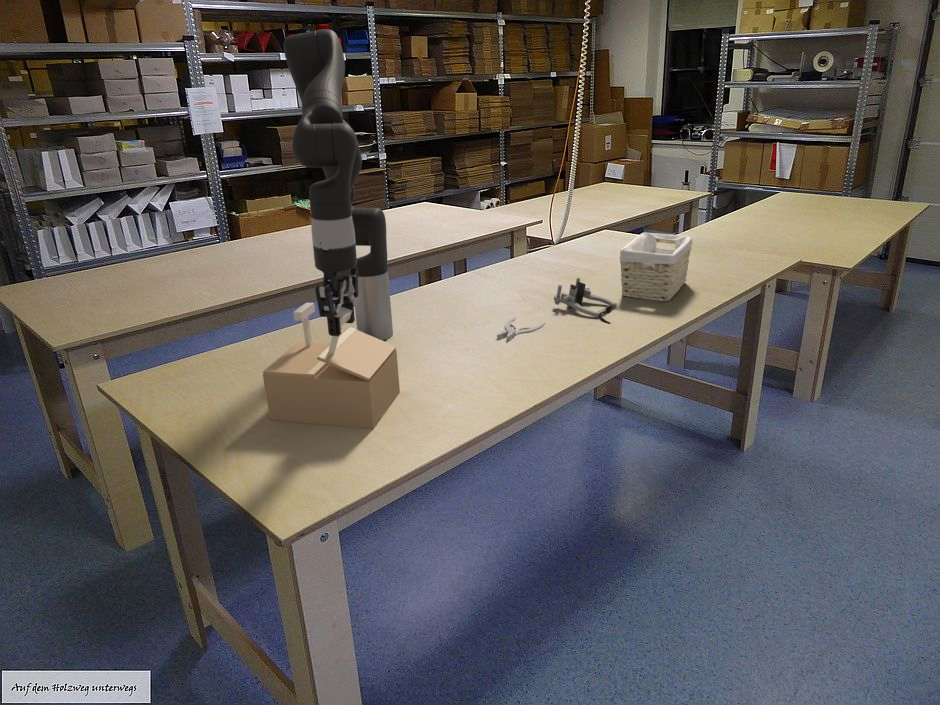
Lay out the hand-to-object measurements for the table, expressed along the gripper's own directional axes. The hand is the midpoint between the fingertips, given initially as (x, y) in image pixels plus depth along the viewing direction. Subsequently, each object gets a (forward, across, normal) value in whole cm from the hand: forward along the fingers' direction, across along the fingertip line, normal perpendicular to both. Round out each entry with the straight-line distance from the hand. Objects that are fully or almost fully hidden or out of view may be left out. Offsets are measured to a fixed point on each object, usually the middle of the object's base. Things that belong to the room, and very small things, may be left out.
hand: (342, 328), depth 125 cm
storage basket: (+18, -92, +61) cm, 112 cm away
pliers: (+19, -52, +25) cm, 61 cm away
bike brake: (+19, -71, +44) cm, 86 cm away
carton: (+19, -4, -5) cm, 20 cm away
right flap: (+7, -4, +1) cm, 8 cm away
